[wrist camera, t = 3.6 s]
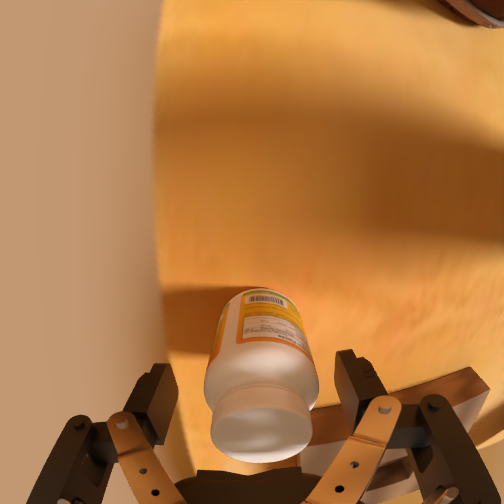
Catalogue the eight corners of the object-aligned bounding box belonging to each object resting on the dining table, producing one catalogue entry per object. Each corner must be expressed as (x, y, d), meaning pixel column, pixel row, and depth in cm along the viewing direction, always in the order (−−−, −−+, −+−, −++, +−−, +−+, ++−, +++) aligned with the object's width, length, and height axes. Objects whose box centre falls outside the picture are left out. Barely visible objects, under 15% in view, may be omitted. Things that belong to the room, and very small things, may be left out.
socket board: (470, 366, 20) (490, 388, 16) (425, 462, 24) (434, 482, 20) (295, 411, 21) (300, 447, 17) (297, 494, 25) (299, 519, 21)
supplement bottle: (249, 367, 20) (244, 480, 10) (203, 312, 18) (163, 422, 9) (315, 331, 19) (350, 442, 9) (272, 270, 18) (287, 369, 8)
